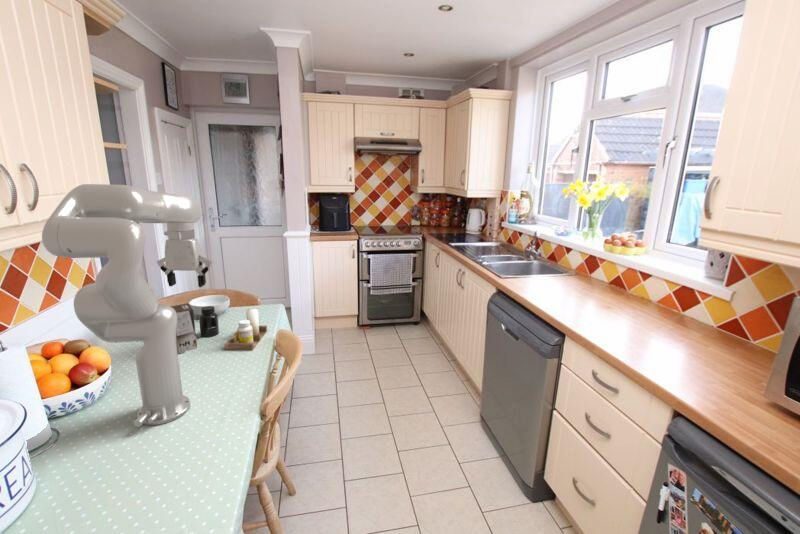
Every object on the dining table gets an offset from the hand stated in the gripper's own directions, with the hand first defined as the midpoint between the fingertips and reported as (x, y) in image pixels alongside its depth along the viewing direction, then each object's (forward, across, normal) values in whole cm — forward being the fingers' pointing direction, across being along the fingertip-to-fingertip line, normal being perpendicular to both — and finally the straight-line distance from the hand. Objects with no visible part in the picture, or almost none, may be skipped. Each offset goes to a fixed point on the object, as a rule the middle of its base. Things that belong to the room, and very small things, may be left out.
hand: (187, 285), depth 125 cm
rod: (+28, +13, +21) cm, 37 cm away
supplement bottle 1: (+28, -5, +22) cm, 36 cm away
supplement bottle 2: (+28, +13, +13) cm, 33 cm away
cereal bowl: (+29, -15, +45) cm, 55 cm away
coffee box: (+28, -9, +11) cm, 32 cm away
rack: (+28, +12, +17) cm, 35 cm away
